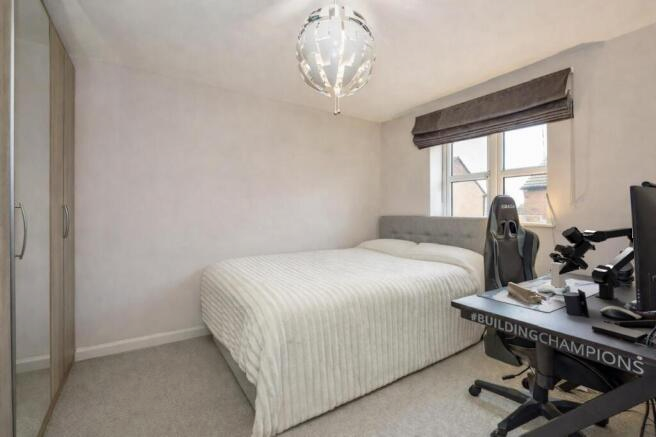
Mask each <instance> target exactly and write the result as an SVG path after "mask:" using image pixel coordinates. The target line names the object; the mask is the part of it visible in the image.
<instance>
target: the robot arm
mask: <svg viewBox="0 0 656 437" xmlns="http://www.w3.org/2000/svg"><path fill="white" fill-rule="evenodd" d="M632 227H633V226H625V227H620V228H613V229H612V228H611V229H604V230H597V229H596V230H593V229H588V230H584V231H583V232H581V231H580V230H579V229H578V227H576V226H571V227H569V228H567V229H565V230H563V231H562V233H561V235H562V237H563V238H564V239H566V241H567V242H569V244H571V245H569V244H566V245H563V244H557V243H556V245H555V246H554V249H553V251H555V252H550V254H549V255H548V257H550V258H551V260H553V262H558V263H562V264H565V266H564V267H563V268H562V269H561V270H560V272H559V274H560V275H562V274H565V275H566V274H567V273H571V272H574V271H579V270H583V271H586V270H587V269H588V268H589V264H588V262H586V261H585V259H584V258H585V254H587V253H588V251H597V249H596V245H595V244H592V243H597V244H598V243H603V242H605V241H607V240H609V239H613V238H614V239H615V238H623V237H627V239H628V240H629V243H628V247H627V248H625V249H624V250H623V251H622V252H621V253H620V254H618V255H617V256H616V257H615V258H613V259H612V260H611V261H610V262H609V263H608V264H606V265H603V264H598V265H597V266H596V267H595V268H593V269H592V272H591V273H590V274H591V279H592V280H593V283H594V284H596V285H598V294H597V295H595V298H600V299H605V300H610V301H613V300H617V299H619V297H618V296H616V295H615V294H616V293H615V292H616V290H615V288H617V289H618V288H621V285H622V283H621V282H620V281H619V280H618V279H617V278H618V274H619V272H620V271H621V270H622V269H623V268H624V267H626V266H627V265H628V264H629V263H631V262H632V261H633V260H634V259H635V258H634V251H633V238H632ZM572 244H573V245H572ZM558 252H559V253H560V254H559V253H558ZM549 271H550V272H551V269H549Z"/></svg>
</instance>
